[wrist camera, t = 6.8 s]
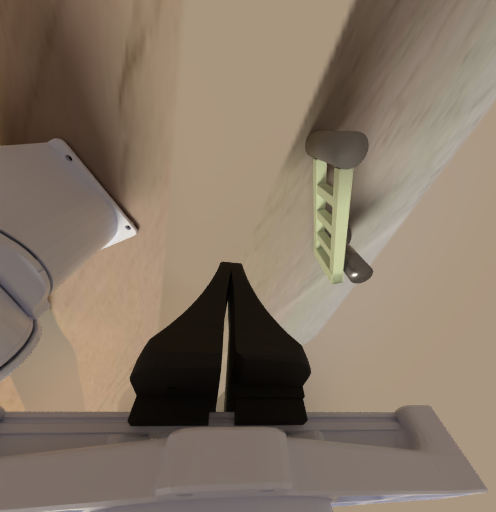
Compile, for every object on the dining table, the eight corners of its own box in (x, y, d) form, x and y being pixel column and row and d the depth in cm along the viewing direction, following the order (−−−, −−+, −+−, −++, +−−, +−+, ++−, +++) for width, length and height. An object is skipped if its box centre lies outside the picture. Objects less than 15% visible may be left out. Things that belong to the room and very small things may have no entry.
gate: (305, 133, 16) (335, 136, 11) (329, 127, 16) (370, 127, 11) (308, 253, 23) (328, 288, 18) (325, 249, 23) (349, 284, 18)
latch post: (311, 231, 21) (335, 265, 16) (347, 218, 21) (385, 250, 15) (317, 257, 23) (340, 295, 18) (350, 246, 23) (384, 283, 17)
